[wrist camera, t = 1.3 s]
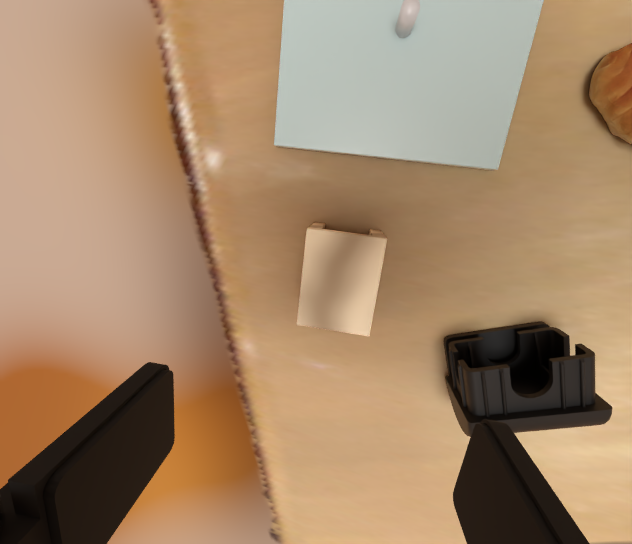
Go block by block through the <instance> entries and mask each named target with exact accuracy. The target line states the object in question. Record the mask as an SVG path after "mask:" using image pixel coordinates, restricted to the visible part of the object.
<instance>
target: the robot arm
mask: <svg viewBox="0 0 632 544" xmlns="http://www.w3.org/2000/svg"><path fill="white" fill-rule="evenodd" d="M173 444H174V389H173V372H172V371H169V367H168V366H167V365H162V364H157V363H151V362H149V363H147V364H145V365H144V366H142V367H141V368H140V369H139V370H138V371H136V372H135V373H134V374H133V375H132V376H131V377H129V378H128V379H127V380H126V381H125V382H124V383H122V384H121V385H120V386H119V387H118V388H116V389H115V390H114V391H113V392H112V393H110V394H109V395H108V396H107V397H106V398H105V399H103V400H102V401H101V402H100V403H99V404H98V405H96V406H95V407H94V408H93V409H91V410H90V411H89V412H88V413H87V414H86V415H84V416H83V417H82V418H81V419H80V420H79V421H77V422H76V423H75V424H74V425H73V426H71V427H70V428H69V429H68V430H67V431H66V432H64V433H63V434H62V435H61V436H60V437H58V438H57V439H56V440H55V441H54V442H53V443H51V444H50V445H49V446H48V447H47V448H45V449H44V450H43V451H42V452H41V453H40V454H38V455H37V456H36V457H35V458H33V459H32V460H31V461H30V462H29V463H28V464H26V465H25V466H24V467H23V468H22V469H20V471H18V472H17V473H16V474H15V475H14V476H12V477H11V478H10V479H9V480H8V483H7V484H6V485H5V486H4V487H3V488H1V489H0V544H107V542H108V541H109V539H110V538H111V536H112V535H113V534H114V532H115V531H116V529H117V528H118V526H119V525H120V523H121V522H122V520H123V519H124V518H125V516H126V515H127V513H128V512H129V510H130V509H131V507H132V506H133V505H134V503H135V502H136V500H137V499H138V497H139V496H140V494H141V493H142V491H143V490H144V489H145V487H146V486H147V484H148V483H149V481H150V480H151V478H152V477H153V476H154V474H155V473H156V471H157V470H158V468H159V466H160V465H161V464H162V462H163V461H164V459H165V458H166V457H167V455H168V454H169V452H170V451H171V449H172V446H173ZM453 501H454V506H455V509H456V512H457V515H458V518H459V521H460V524H461V527H462V530H463V533H464V536H465V539H466V542H467V544H589V542H588V541H587V539H586V538H585V536H584V535H583V533H582V532H581V531H580V529H579V528H578V526H577V525H576V523H575V522H574V520H573V519H572V517H571V516H570V515H569V513H568V512H567V510H566V509H565V507H564V506H563V504H562V503H561V501H560V500H559V498H558V497H557V496H556V494H555V493H554V491H553V490H552V488H551V487H550V485H549V484H548V482H547V481H546V479H545V478H544V477H543V475H542V474H541V472H540V471H539V469H538V468H537V466H536V465H535V463H534V462H533V461H532V459H531V458H530V456H529V455H528V453H527V452H526V450H525V449H524V447H523V446H522V444H521V443H520V442H519V440H518V439H517V437H516V436H515V434H514V433H513V431H512V430H511V428H510V427H509V426H508V425H507V424H506V423H504V422H499V421H493V420H487V419H483V420H482V421H481V422H480V424H479V423H477V424H475V426H474V429H473V432H472V435H471V438H470V441H469V444H468V447H467V451H466V454H465V457H464V460H463V463H462V466H461V469H460V472H459V476H458V479H457V482H456V485H455V488H454V492H453Z"/></svg>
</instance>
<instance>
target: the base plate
mask: <svg viewBox="0 0 632 544" xmlns="http://www.w3.org/2000/svg"><path fill="white" fill-rule="evenodd" d="M543 1H544V0H284V11H283V25H282V39H281V54H280V68H279V82H278V96H277V111H276V125H275V139H274V145H275V146H276V147H283V148H292V149H301V150H310V151H320V152H329V153H338V154H347V155H356V156H365V157H374V158H383V159H392V160H402V161H411V162H420V163H429V164H438V165H447V166H456V167H465V168H474V169H483V170H498V167H499V164H500V160H501V156H502V152H503V149H504V145H505V141H506V138H507V134H508V130H509V127H510V123H511V119H512V115H513V112H514V108H515V104H516V101H517V97H518V93H519V90H520V86H521V82H522V79H523V75H524V71H525V67H526V64H527V60H528V56H529V53H530V49H531V45H532V42H533V38H534V34H535V30H536V27H537V23H538V19H539V16H540V12H541V8H542V5H543Z"/></svg>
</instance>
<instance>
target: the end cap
mask: <svg viewBox="0 0 632 544" xmlns="http://www.w3.org/2000/svg"><path fill="white" fill-rule="evenodd" d="M444 347H445V354H446V361H447V368H448V374H449V376H446V383H447V388H448V392H449V396H450V400H451V403H452V406H453V409H454V412H455V415H456V417H457V420H458V422H459V424H460V426H461V428H462V430H463V432H464V433H465V434H466V435H467V436H470V437H471V435H472V432H473V429H474V426H475V424H477V423H479V424H480V422H481V421H482V420H483V419H487V420H493V421H499V422H504V423H506V424H507V425H508V426H509V427H510V428H511V430H512V431H513V433H517V432H528V431H539V430H549V429H560V428H571V427H582V426H593V425H601V424H605V423H606V422H607V421H608V420H609V419H610V417H611V414H612V406H610V405H609V404H608V403H607V402H606V401H604V400H603V399H602V398H601V397H600V396H598V395H597V394H596V393H595V353H594V352H593V351H591V350H590V349H588V348H587V347H585V346H584V345H582V344H575V352H576V355H574V356H570V343H569V335H567V334H566V333H564V332H563V331H561V330H560V329H558V328H553V327H549V326H548V325H547V324H545V323H544V322H534V323H527V324H520V325H514V326H507V327H500V328H493V329H487V330H480V331H473V332H467V333H460V334H453V335H448V336H446V337H445V338H444Z"/></svg>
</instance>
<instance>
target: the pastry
mask: <svg viewBox="0 0 632 544" xmlns="http://www.w3.org/2000/svg"><path fill="white" fill-rule="evenodd" d="M589 97H590V99H591V101H592V103H593V105H594V106H596V107H597V109H598V110H599V112H600V113H601V114H602V116H603V118H604V120H605V121H606V122H607V125H608V128H609V130H610V132H611V133H612V134H613V135H615V136H618V137H620V138H622V139H623V140H624V141H626V142H628V143H629V144H631V145H632V43H631V44H629V45H627V46H625V47H623V48H621V49H620V50H618V51H613V52H611V53H609V54H607V55H606V56H605V57H604V58H603V59H602V60H601V62H600V63H599V64H598V66H597V67H596V69H595V71H594V73H593V75H592V79H591V83H590V90H589Z"/></svg>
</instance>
